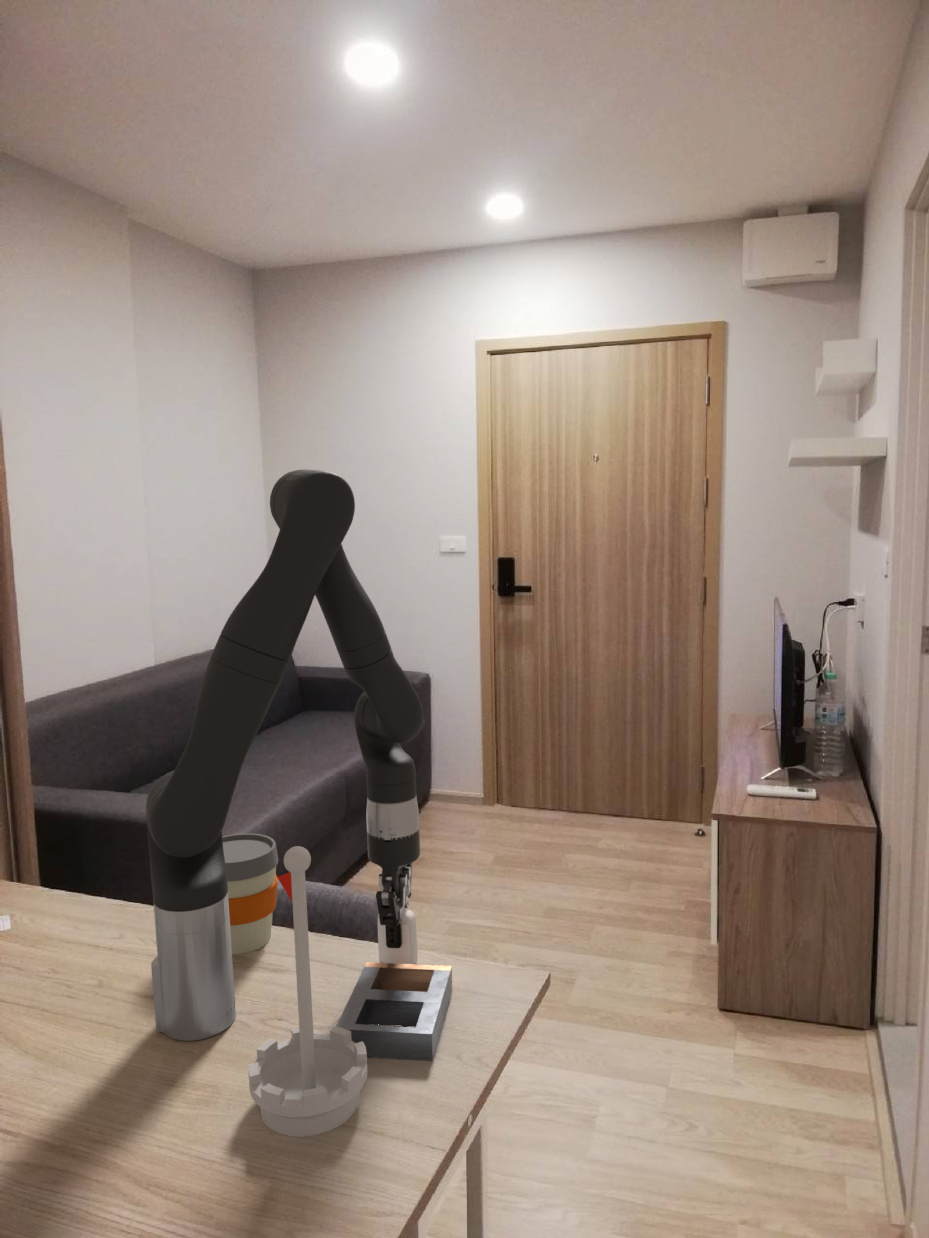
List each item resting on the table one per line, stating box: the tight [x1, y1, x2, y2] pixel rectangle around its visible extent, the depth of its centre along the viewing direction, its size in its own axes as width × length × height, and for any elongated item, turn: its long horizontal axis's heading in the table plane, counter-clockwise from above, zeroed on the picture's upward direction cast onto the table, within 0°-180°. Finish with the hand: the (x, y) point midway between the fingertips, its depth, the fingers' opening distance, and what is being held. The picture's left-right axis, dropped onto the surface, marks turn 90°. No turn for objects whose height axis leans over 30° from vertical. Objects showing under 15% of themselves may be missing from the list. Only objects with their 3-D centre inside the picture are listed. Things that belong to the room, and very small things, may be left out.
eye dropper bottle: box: [377, 898, 419, 964], centre depth 130 cm, size 4×6×12 cm
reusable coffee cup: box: [222, 833, 279, 955], centre depth 138 cm, size 13×13×15 cm
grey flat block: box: [335, 961, 454, 1062], centre depth 116 cm, size 12×16×4 cm
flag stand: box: [247, 845, 368, 1137], centre depth 99 cm, size 13×13×30 cm
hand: (397, 939), depth 130 cm, fingers closed on eye dropper bottle, 3 cm apart
